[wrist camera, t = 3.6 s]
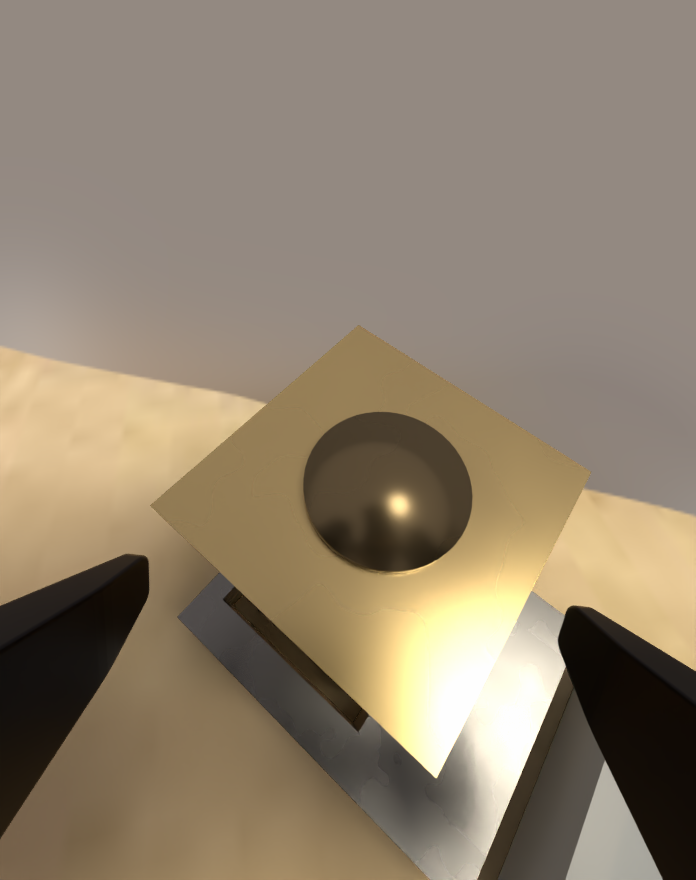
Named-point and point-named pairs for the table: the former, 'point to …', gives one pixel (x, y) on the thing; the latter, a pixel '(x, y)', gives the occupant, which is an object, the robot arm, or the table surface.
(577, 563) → the table surface
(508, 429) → the brass tower with button
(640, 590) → the table surface
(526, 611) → the grey holder tray
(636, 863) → the parts tray
